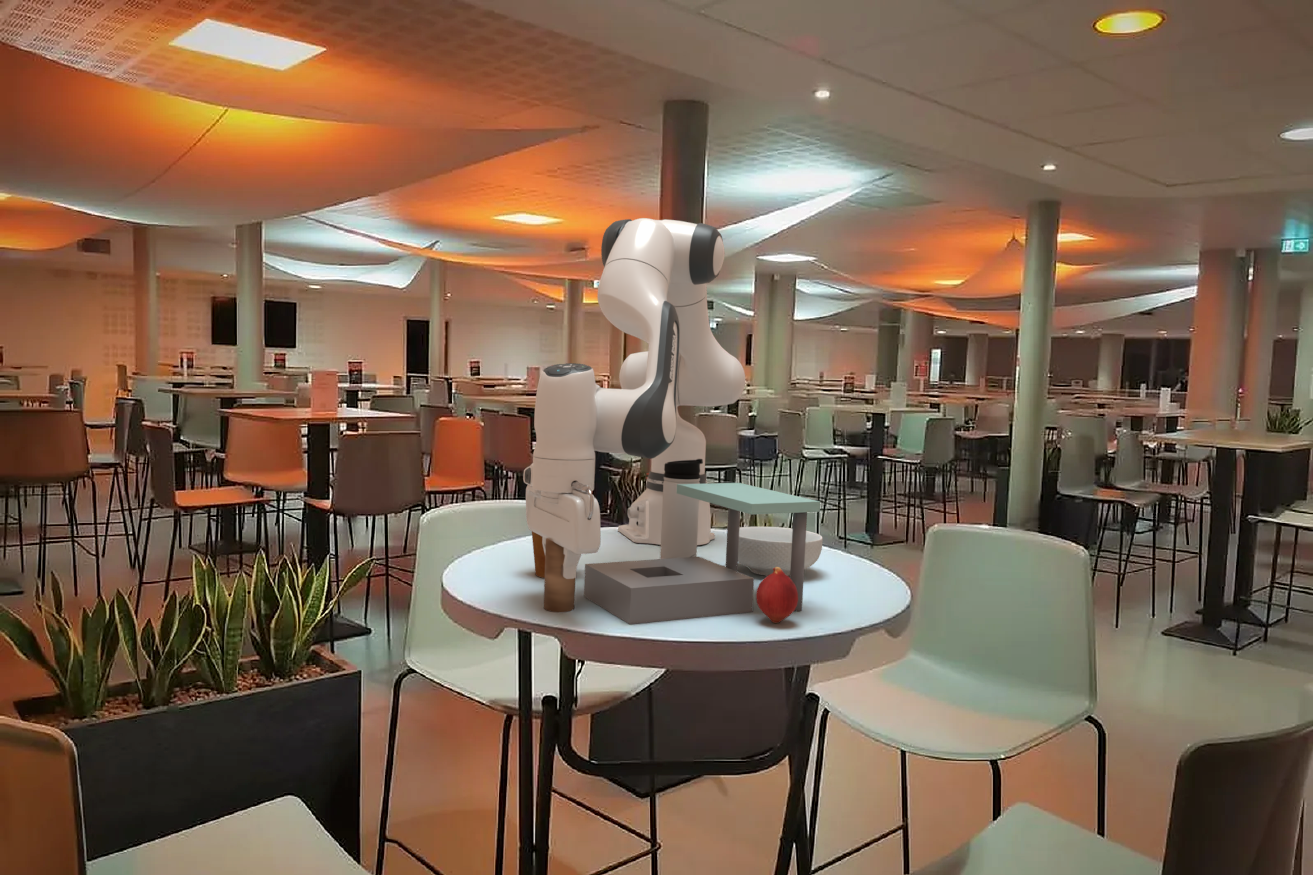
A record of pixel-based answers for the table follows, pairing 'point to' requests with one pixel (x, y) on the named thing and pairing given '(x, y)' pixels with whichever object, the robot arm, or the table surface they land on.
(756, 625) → the table surface
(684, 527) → the travel mug
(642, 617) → the socket block
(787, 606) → the onion
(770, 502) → the awning
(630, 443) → the robot arm
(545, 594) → the walnut peg
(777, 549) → the cereal bowl
